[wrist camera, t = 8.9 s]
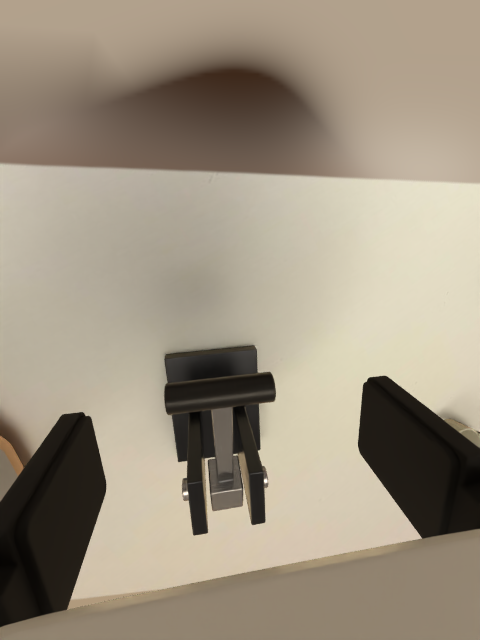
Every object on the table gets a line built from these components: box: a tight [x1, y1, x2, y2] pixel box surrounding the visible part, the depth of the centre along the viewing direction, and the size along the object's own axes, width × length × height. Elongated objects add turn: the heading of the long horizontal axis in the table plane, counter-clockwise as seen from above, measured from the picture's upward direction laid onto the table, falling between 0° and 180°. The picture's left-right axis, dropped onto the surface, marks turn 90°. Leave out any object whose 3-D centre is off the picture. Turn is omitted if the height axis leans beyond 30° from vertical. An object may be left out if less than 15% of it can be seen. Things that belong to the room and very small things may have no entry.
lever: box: [164, 372, 276, 511], centre depth 19 cm, size 12×6×2 cm, turn 3°
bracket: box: [165, 346, 268, 535], centre depth 26 cm, size 12×9×13 cm
